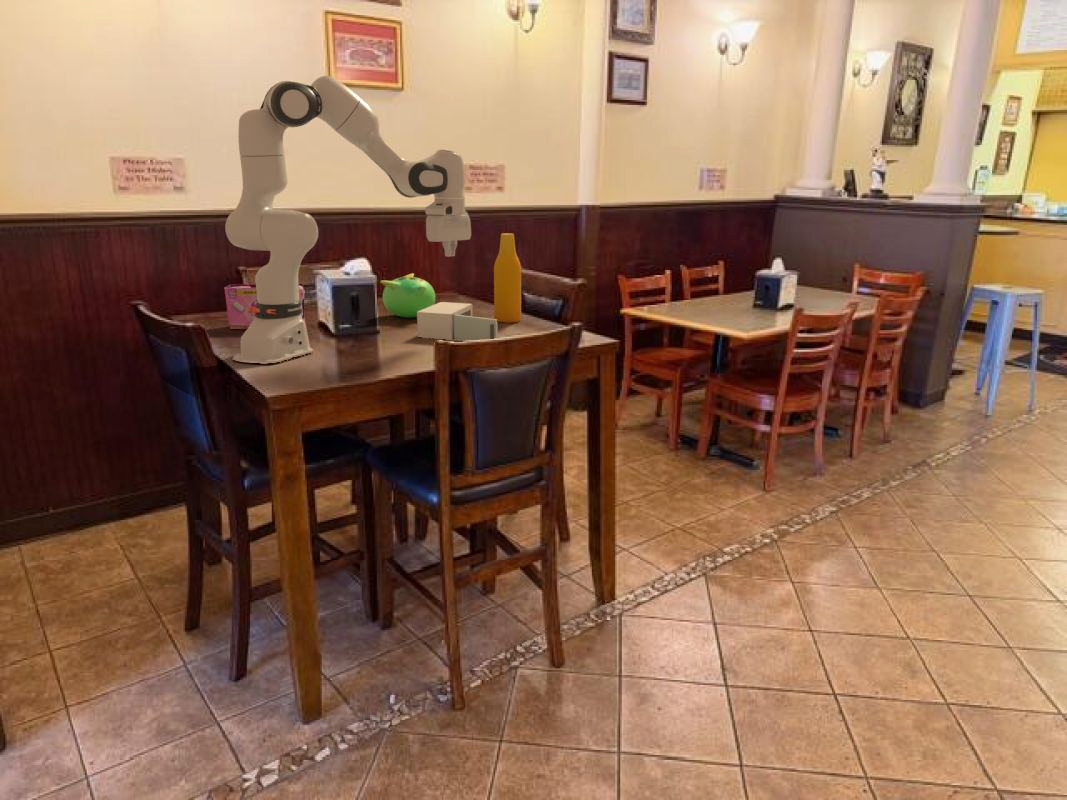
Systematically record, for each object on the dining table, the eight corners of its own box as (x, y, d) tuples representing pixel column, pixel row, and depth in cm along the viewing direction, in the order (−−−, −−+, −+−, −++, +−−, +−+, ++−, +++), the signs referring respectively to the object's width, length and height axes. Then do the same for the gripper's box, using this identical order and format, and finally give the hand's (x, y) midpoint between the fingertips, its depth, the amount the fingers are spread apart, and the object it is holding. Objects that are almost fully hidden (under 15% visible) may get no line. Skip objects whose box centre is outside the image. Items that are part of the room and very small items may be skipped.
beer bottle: (517, 323, 251) (518, 235, 243) (491, 322, 253) (490, 234, 244) (523, 318, 260) (524, 233, 251) (497, 317, 262) (497, 232, 253)
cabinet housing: (451, 340, 227) (450, 314, 225) (417, 337, 230) (416, 311, 228) (475, 327, 246) (474, 302, 243) (444, 324, 249) (443, 300, 246)
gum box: (310, 324, 249) (306, 283, 245) (305, 329, 241) (302, 287, 237) (235, 325, 246) (230, 283, 242) (228, 330, 239) (223, 287, 235)
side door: (450, 339, 227) (449, 315, 224) (453, 338, 228) (453, 314, 226) (494, 345, 220) (494, 320, 217) (497, 344, 221) (497, 319, 219)
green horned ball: (440, 313, 268) (438, 272, 263) (429, 322, 252) (427, 279, 247) (390, 312, 269) (388, 270, 265) (377, 321, 253) (374, 277, 249)
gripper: (458, 208, 231) (458, 254, 235) (421, 208, 213) (422, 257, 217) (476, 208, 229) (476, 255, 232) (440, 208, 211) (441, 258, 214)
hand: (450, 256), depth 224 cm, fingers closed
